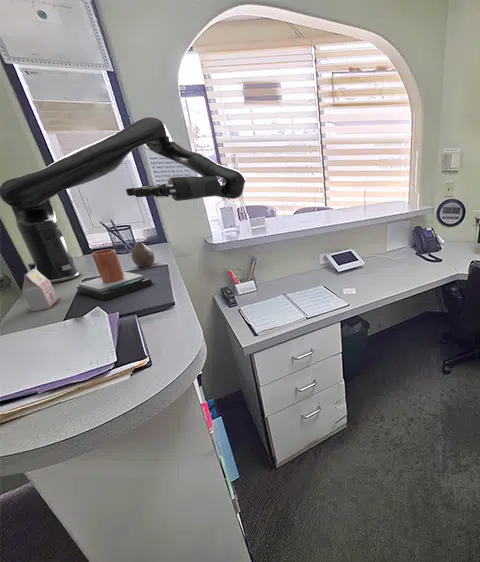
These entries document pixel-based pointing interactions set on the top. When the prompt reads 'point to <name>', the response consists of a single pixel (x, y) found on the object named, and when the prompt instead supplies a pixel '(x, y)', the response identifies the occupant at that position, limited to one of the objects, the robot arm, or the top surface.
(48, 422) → the top surface
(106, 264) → the cup
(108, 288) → the scale
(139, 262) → the brown coconut
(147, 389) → the top surface
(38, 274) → the milk carton
